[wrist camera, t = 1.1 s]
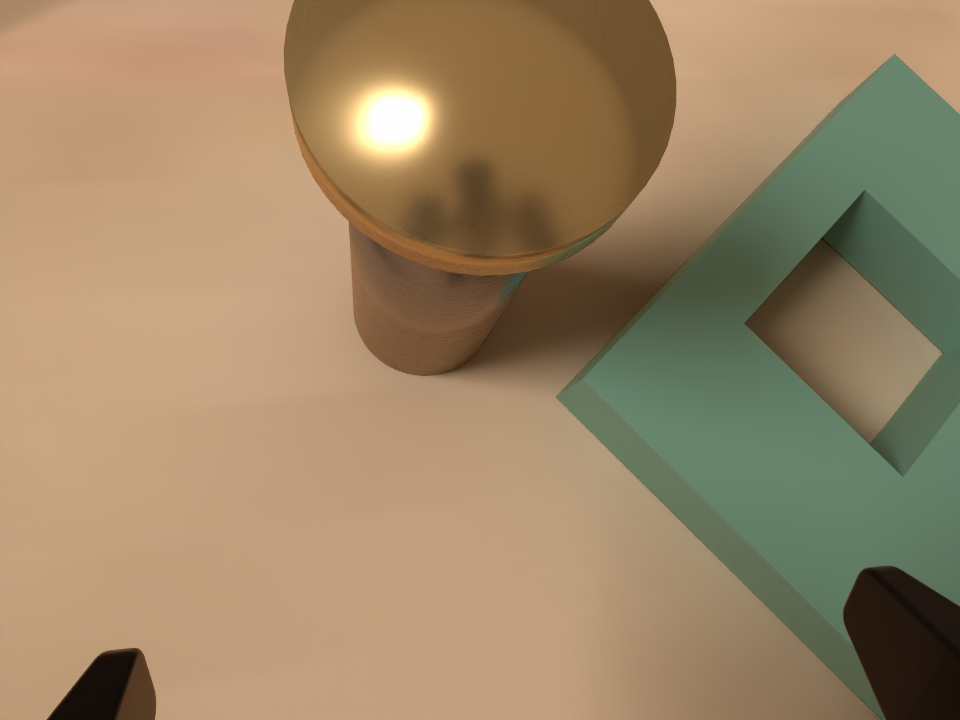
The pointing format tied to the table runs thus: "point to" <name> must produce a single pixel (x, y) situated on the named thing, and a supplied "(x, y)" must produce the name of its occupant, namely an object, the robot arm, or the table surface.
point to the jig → (784, 395)
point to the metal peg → (472, 148)
